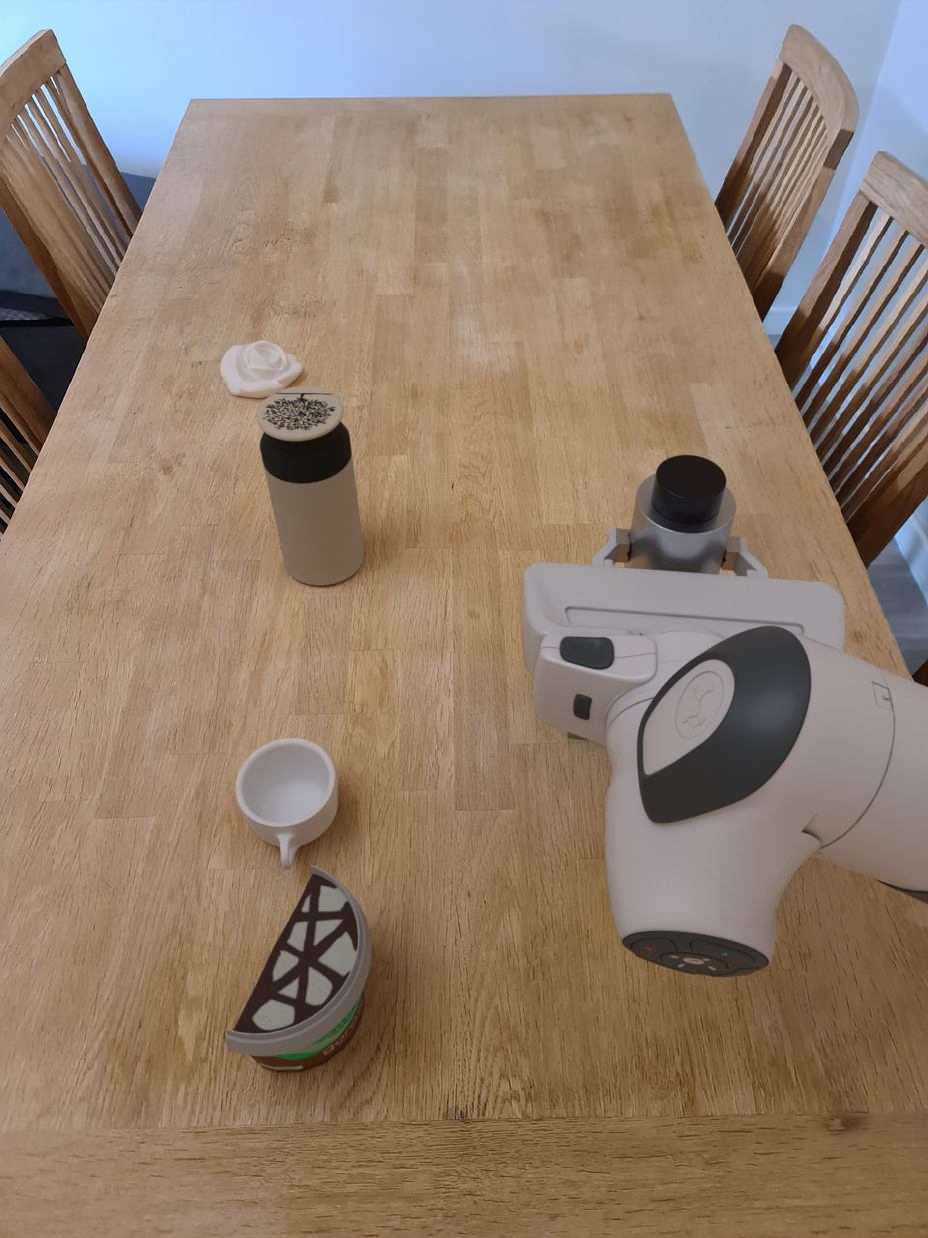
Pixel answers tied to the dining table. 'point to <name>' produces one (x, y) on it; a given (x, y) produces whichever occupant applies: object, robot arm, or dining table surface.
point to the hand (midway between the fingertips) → (674, 538)
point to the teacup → (288, 794)
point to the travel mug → (311, 484)
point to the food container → (309, 983)
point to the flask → (682, 517)
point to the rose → (258, 369)
